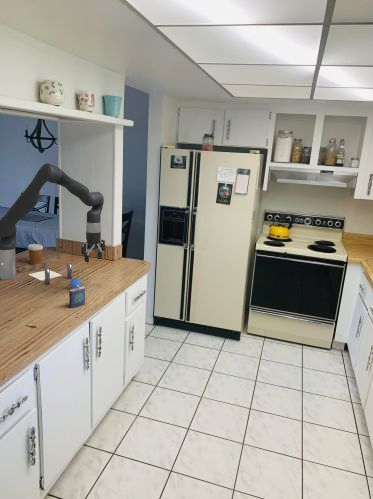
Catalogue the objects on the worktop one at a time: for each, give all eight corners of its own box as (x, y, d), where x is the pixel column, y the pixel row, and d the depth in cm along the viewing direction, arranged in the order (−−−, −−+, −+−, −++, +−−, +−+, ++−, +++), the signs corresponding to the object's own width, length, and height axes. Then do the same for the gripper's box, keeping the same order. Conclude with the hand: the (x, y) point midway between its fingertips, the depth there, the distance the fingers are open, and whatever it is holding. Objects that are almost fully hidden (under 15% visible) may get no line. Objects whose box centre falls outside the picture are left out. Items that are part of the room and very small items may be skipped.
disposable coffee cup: (27, 261, 255) (26, 244, 252) (42, 261, 259) (42, 243, 256) (28, 266, 246) (27, 247, 243) (44, 265, 250) (43, 247, 247)
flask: (83, 302, 197) (83, 282, 195) (86, 304, 196) (87, 284, 193) (67, 307, 190) (67, 286, 187) (71, 309, 188) (71, 288, 186)
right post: (69, 279, 228) (69, 265, 226) (66, 278, 229) (66, 264, 227) (72, 278, 230) (72, 264, 228) (70, 277, 231) (70, 263, 229)
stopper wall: (19, 272, 233) (19, 268, 232) (17, 271, 234) (17, 267, 234) (46, 267, 247) (46, 263, 246) (44, 266, 248) (44, 262, 247)
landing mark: (41, 280, 223) (41, 280, 223) (28, 274, 231) (28, 274, 231) (62, 275, 233) (62, 275, 233) (49, 270, 242) (49, 269, 242)
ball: (74, 291, 210) (74, 281, 209) (67, 288, 214) (67, 278, 212) (83, 289, 215) (83, 278, 214) (76, 286, 219) (76, 276, 217)
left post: (46, 285, 217) (46, 269, 214) (44, 283, 218) (43, 268, 216) (50, 284, 219) (50, 268, 216) (48, 282, 220) (48, 267, 218)
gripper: (99, 227, 209) (98, 256, 213) (77, 231, 198) (77, 261, 202) (108, 230, 205) (108, 259, 209) (87, 233, 194) (87, 264, 198)
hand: (93, 260), depth 205 cm, fingers open, 8 cm apart
